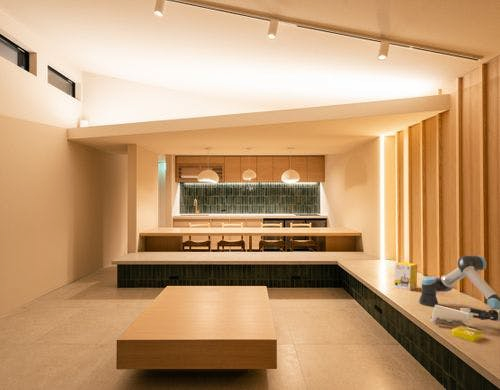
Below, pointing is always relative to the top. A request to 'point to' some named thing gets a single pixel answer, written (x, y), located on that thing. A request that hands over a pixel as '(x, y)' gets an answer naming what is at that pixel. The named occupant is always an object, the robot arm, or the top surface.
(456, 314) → the shelf bracket
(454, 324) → the hinge board
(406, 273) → the packaging box
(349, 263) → the top surface
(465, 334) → the element tile
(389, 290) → the top surface
